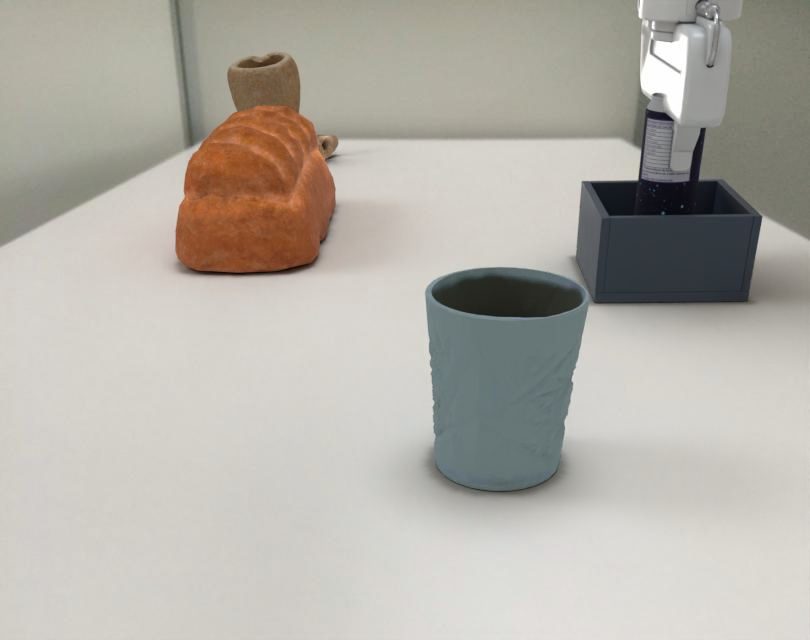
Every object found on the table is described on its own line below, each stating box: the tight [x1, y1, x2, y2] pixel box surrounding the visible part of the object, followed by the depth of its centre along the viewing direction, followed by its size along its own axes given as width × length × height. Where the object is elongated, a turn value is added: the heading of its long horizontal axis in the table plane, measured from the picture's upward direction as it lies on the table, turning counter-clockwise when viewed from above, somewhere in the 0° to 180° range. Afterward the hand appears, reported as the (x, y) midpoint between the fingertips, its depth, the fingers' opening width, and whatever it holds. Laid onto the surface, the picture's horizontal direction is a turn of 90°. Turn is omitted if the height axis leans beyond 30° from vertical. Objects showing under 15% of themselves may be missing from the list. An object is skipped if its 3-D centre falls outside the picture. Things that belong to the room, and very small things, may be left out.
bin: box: [575, 178, 763, 304], centre depth 97 cm, size 15×15×8 cm
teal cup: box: [424, 266, 591, 492], centre depth 63 cm, size 10×10×12 cm
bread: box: [174, 106, 337, 274], centre depth 112 cm, size 16×31×13 cm, turn 178°
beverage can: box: [634, 93, 707, 216], centre depth 93 cm, size 6×6×12 cm
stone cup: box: [226, 51, 340, 160], centre depth 145 cm, size 15×12×15 cm
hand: (671, 161), depth 93 cm, fingers closed on beverage can, 5 cm apart
